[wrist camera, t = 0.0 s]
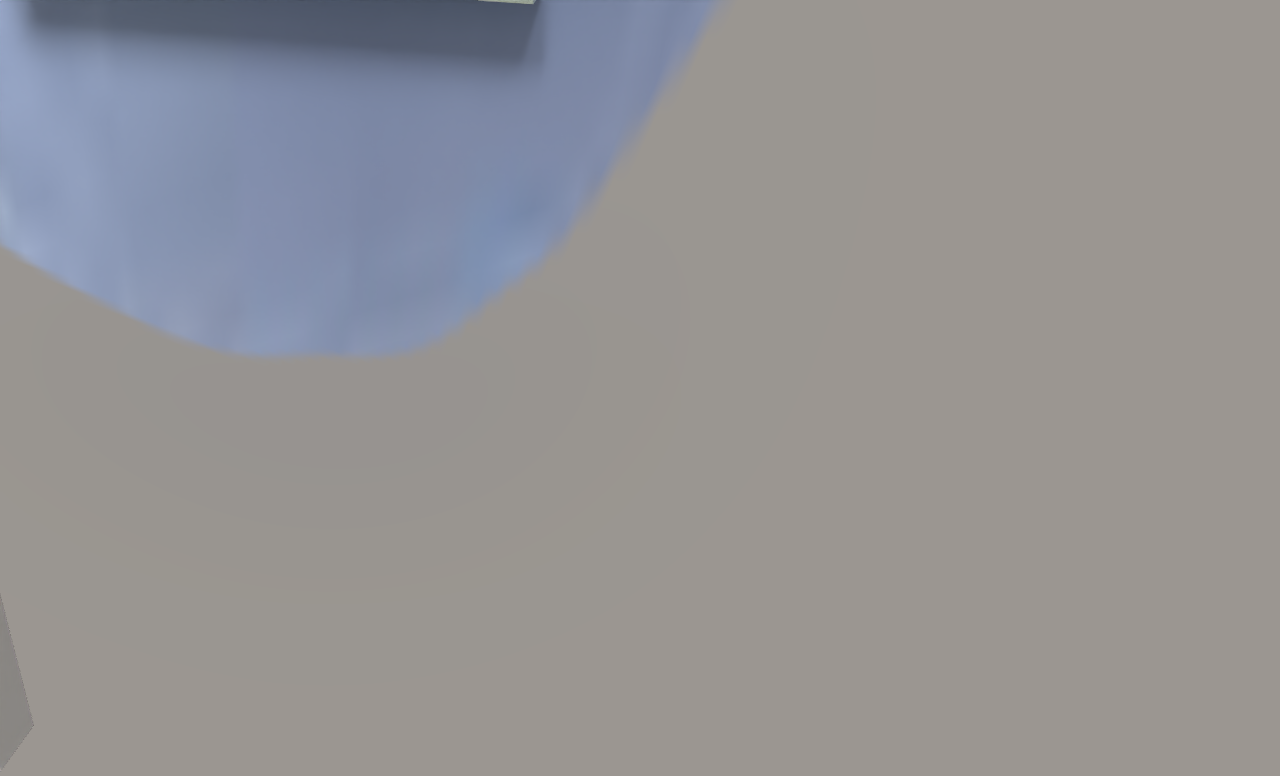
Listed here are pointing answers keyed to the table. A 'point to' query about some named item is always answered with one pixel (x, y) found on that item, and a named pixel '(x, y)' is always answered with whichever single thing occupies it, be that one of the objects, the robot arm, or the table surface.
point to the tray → (514, 1)
